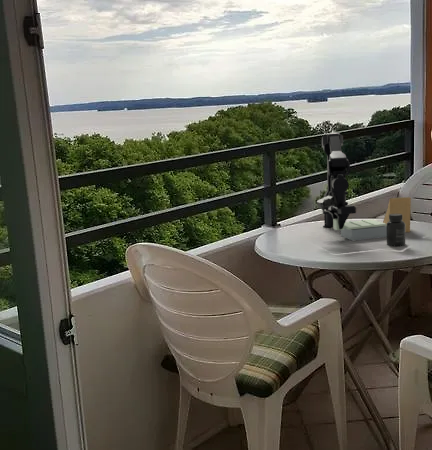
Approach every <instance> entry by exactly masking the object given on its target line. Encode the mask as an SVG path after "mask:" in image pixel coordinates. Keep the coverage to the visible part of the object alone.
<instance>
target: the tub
mask: <svg viewBox="0 0 432 450" xmlns="http://www.w3.org/2000/svg"><path fill="white" fill-rule="evenodd" d="M340 237H342V238H345V239H347V240H350V241H352V242H353V241H361V240H371V239H379V238H381V239H382V238H387V235H386V226H378V227H371V228H359V229H350V230H348V229H346V228H344V230H340Z"/></svg>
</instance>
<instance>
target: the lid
mask: <svg viewBox="0 0 432 450" xmlns="http://www.w3.org/2000/svg"><path fill="white" fill-rule="evenodd" d="M378 226H386V224H385V223H383V221H379V220H376V219H367V220H366V219H365V220H364V219H361V220H356V221H355V220H354V221H351V220H350V221H346V222H345V224H344V226H343V228H342V229H339V225H338V219H333V227H332V229H333V230H334V231H341V230H344V228H346V229H348V230H350V229H359V228H369V227H378Z"/></svg>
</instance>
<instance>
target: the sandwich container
mask: <svg viewBox="0 0 432 450" xmlns="http://www.w3.org/2000/svg"><path fill="white" fill-rule="evenodd" d="M411 200H412V198H411V196H405V197H403V196H402V197H393V198H392V197H391V198H389V201H388V204H387V209H386V211H385V214H384V217H383V221H382V223H385V224H387V222H389V221H390V220H389V214H402V218H403V219H402V221H403V222H404V223H405V233H410V232H411V208H412V207H411V205H412V201H411Z"/></svg>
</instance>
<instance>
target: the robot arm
mask: <svg viewBox="0 0 432 450" xmlns="http://www.w3.org/2000/svg"><path fill="white" fill-rule="evenodd" d="M321 146H322V148H323V151H324V153H325V155H326V157H327V158H326V160H327V161H326V162H327V163H326V165H327V166H326V167H327V170H326V171H327V173H326V175H327V190H326V191H325V193H324V195H323V197H322V198H320V199H318V200H316V204H317V206H318V209H319V210H320V209H321V211H322V215H324V216H323V217H324V219H323V220H324V221H323V222H324V225H323V226H322V227H323V228H330V229H333V219H338V225H339V229H342V228H343V226H344V224H345V222H347V221H348V218H349V216H350V215H352V214H357V208H356V207H355V206H354V205H352V204H349V201H347V195H348V194H349V191H347V190H348V189H349V181H348V180H347V179H346V178H347V177H346V176H350V173H351V165H350V162H349V159H348V158H347V155H346V153H344V152H342V147H343V146H344V136H343V135H342V134H341V133H339V132H329V133H327V134H326V135H322V137H321Z"/></svg>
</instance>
